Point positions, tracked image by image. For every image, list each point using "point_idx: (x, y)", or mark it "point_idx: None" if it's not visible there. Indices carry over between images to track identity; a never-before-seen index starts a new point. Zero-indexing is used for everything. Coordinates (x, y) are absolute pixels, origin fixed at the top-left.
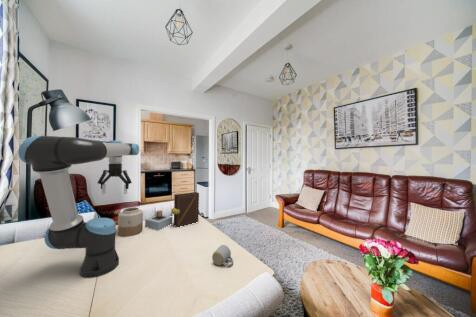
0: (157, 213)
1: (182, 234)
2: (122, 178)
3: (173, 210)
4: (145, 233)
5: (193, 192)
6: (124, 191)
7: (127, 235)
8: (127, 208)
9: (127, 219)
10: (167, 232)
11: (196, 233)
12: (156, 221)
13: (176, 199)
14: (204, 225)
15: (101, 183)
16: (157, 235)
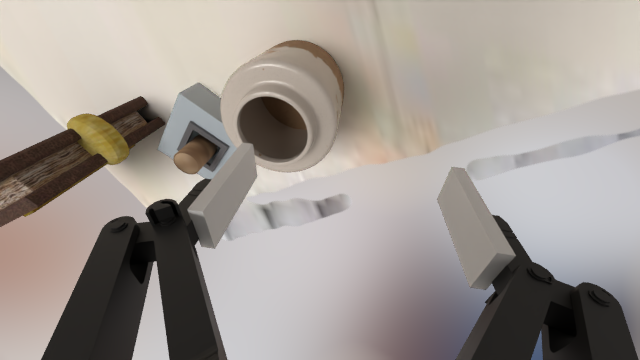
0: (191, 150)
1: (78, 19)
2: (173, 315)
3: (91, 128)
4: (234, 61)
5: None
6: (238, 157)
7: (293, 40)
8: (300, 153)
9: (273, 54)
10: (151, 55)
11: (28, 19)
12: (194, 109)
13: (51, 180)
14: (51, 100)
15: (539, 275)
16: (175, 28)
